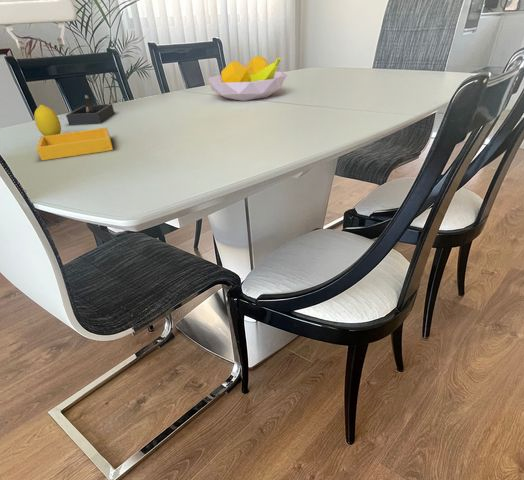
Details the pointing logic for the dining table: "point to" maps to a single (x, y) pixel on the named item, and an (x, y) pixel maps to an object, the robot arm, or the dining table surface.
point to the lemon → (47, 121)
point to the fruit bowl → (248, 80)
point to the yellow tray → (74, 144)
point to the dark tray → (90, 115)
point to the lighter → (88, 105)
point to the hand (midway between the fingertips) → (42, 47)
